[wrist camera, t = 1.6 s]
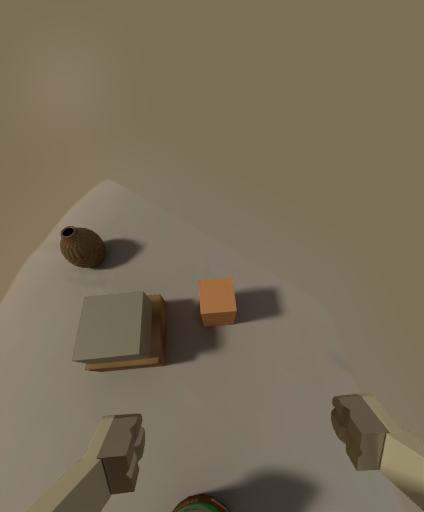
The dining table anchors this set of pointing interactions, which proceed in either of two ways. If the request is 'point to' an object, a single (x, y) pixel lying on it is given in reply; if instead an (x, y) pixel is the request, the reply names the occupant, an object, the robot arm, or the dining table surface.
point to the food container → (200, 504)
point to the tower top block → (114, 328)
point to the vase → (82, 247)
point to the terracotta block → (217, 302)
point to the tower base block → (156, 342)
